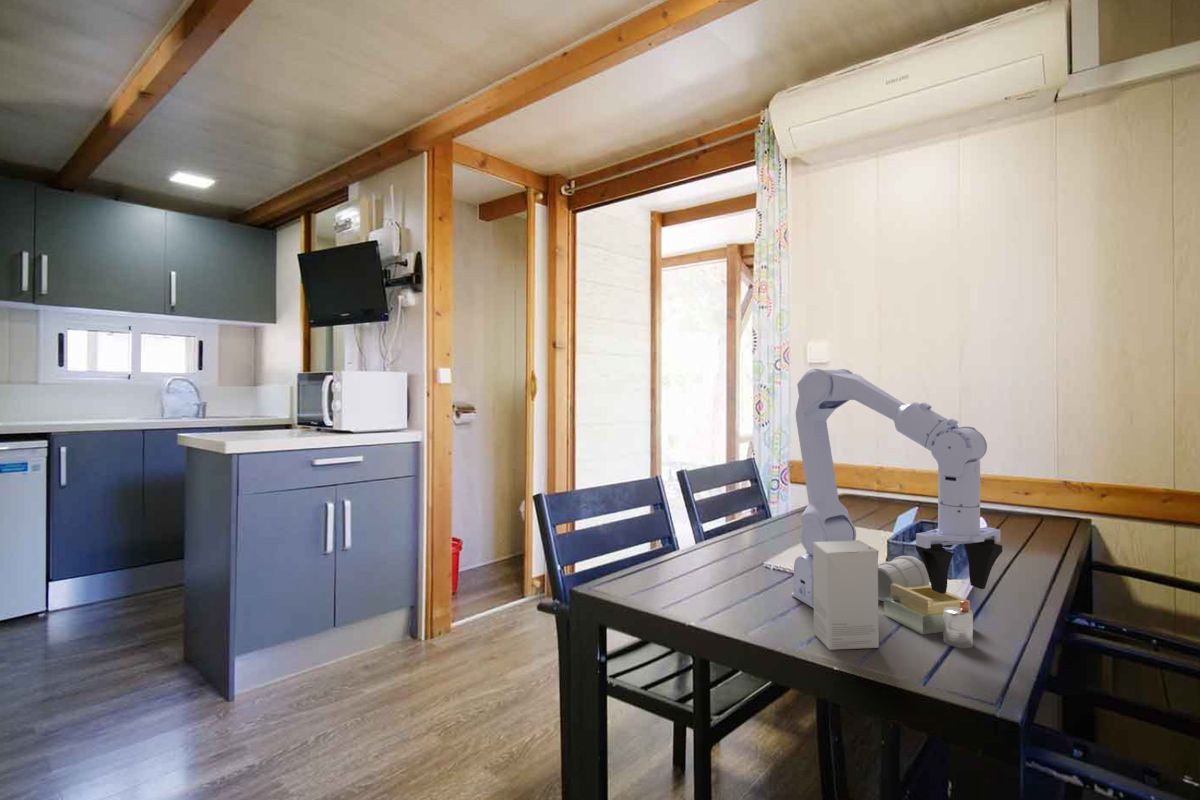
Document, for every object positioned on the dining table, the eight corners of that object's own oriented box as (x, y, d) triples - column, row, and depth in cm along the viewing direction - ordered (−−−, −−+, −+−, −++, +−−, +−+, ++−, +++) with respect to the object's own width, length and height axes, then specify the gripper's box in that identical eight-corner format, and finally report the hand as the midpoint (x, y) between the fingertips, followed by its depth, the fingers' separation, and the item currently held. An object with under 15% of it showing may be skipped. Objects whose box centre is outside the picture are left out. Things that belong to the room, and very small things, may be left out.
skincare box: (861, 633, 99) (861, 539, 99) (881, 650, 92) (881, 550, 92) (811, 633, 99) (811, 540, 98) (827, 651, 92) (828, 550, 92)
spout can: (958, 649, 93) (958, 607, 92) (937, 639, 96) (937, 599, 96) (978, 646, 94) (979, 605, 94) (957, 636, 97) (957, 596, 97)
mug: (938, 591, 113) (897, 605, 108) (887, 597, 123) (847, 611, 117) (922, 551, 116) (882, 563, 110) (873, 560, 125) (834, 571, 120)
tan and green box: (922, 634, 98) (922, 601, 98) (883, 614, 107) (883, 583, 107) (971, 628, 101) (972, 595, 101) (929, 609, 109) (930, 579, 109)
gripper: (941, 511, 89) (941, 602, 89) (1018, 506, 93) (1018, 593, 93) (905, 502, 96) (905, 587, 96) (978, 498, 99) (978, 579, 100)
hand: (958, 589), depth 95 cm, fingers open, 7 cm apart
